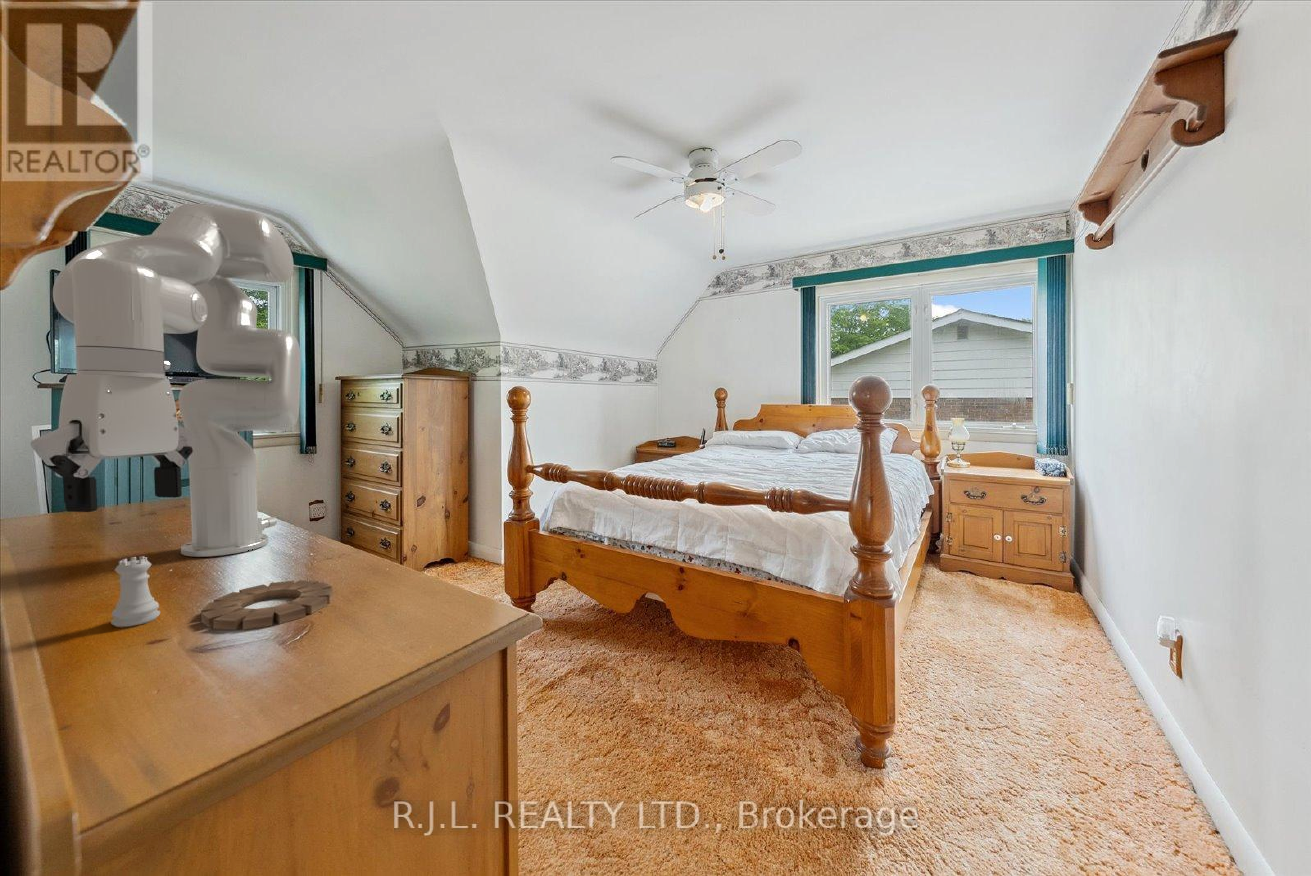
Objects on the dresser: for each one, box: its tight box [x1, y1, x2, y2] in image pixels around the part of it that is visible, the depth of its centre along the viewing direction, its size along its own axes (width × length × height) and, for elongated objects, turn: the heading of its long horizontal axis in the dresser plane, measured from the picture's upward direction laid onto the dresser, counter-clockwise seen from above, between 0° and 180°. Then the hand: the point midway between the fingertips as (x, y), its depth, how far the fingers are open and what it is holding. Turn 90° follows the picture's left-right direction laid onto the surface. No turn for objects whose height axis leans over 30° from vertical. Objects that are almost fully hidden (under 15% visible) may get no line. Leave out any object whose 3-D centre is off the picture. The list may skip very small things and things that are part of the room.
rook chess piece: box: [110, 556, 161, 628], centre depth 64 cm, size 4×4×8 cm
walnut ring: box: [200, 579, 334, 631], centre depth 70 cm, size 14×14×1 cm
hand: (128, 503), depth 63 cm, fingers open, 9 cm apart
